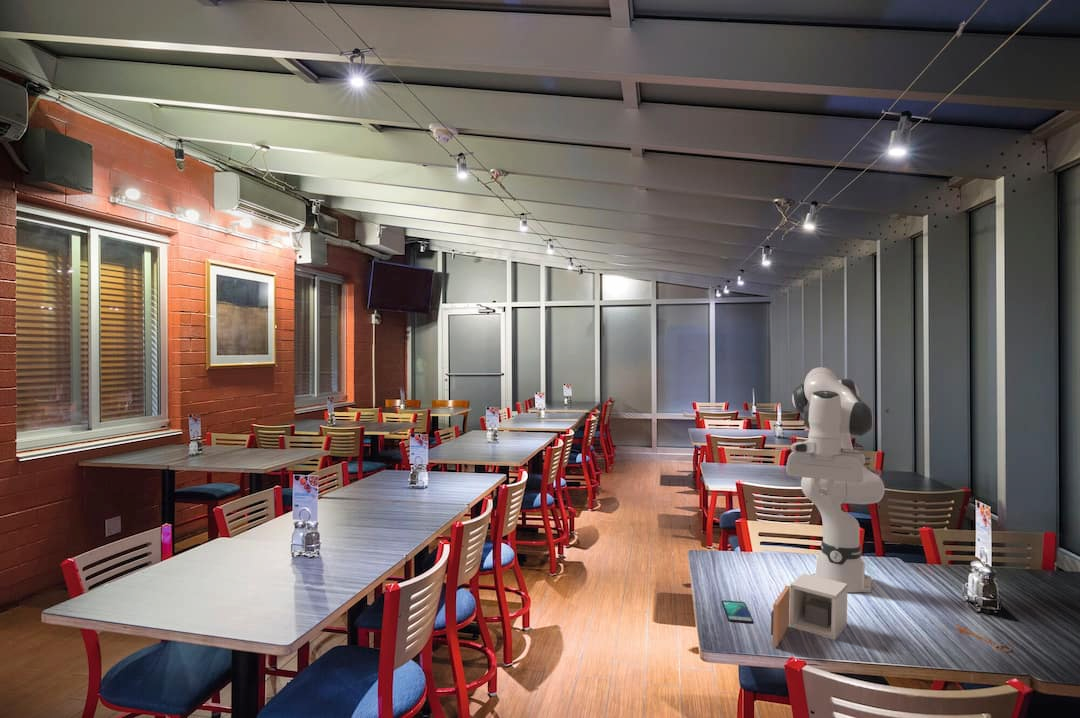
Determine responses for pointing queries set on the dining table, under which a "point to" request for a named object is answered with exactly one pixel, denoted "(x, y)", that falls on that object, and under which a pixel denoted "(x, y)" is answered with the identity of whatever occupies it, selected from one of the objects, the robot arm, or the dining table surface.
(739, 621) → the smartphone
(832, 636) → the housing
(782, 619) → the hatch
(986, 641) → the key
